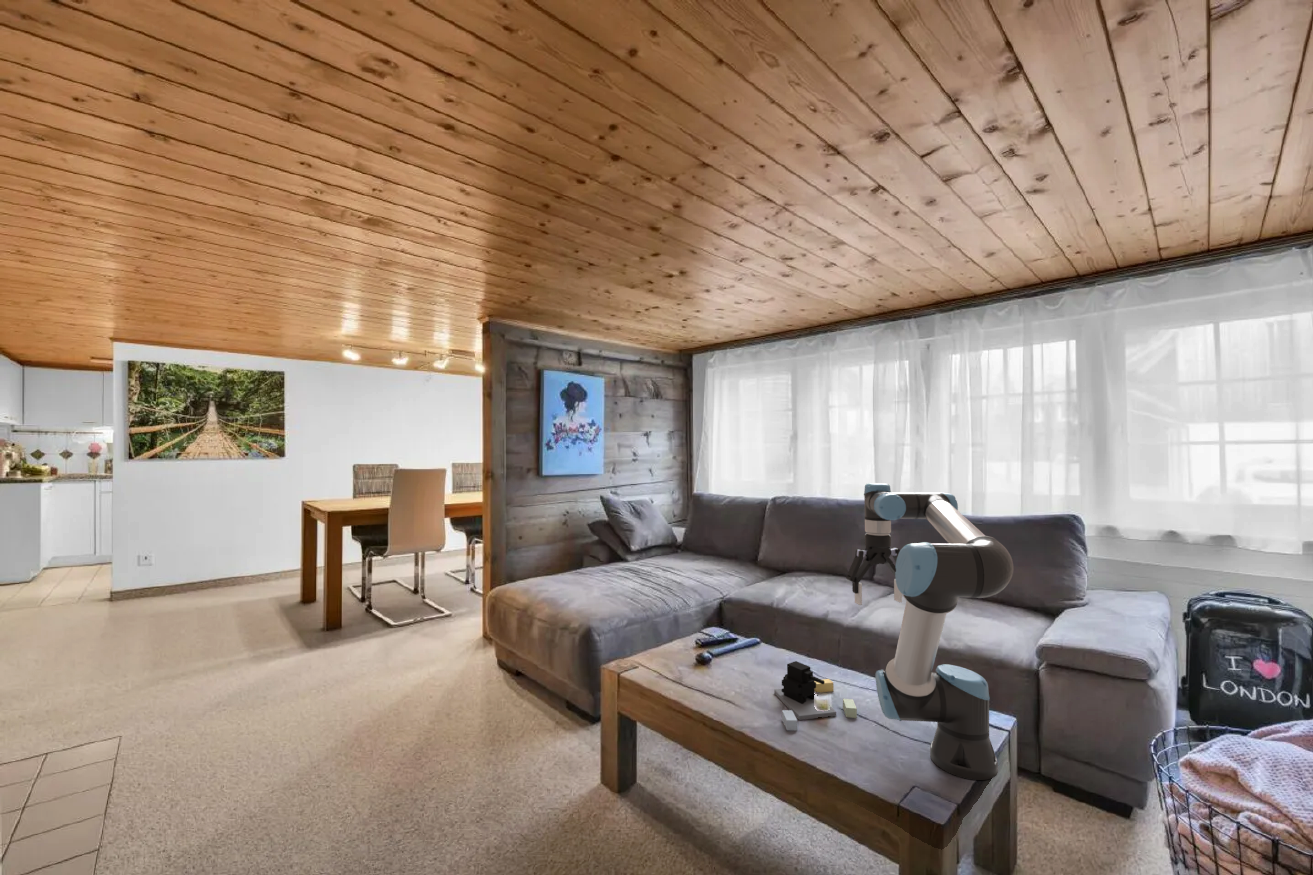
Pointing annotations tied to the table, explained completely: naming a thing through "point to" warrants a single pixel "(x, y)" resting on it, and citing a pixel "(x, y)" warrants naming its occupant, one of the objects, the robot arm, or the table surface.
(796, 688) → the toy
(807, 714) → the felt pad
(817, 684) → the mustard brick
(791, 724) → the dusty blue brick
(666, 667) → the table surface
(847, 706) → the sage brick
